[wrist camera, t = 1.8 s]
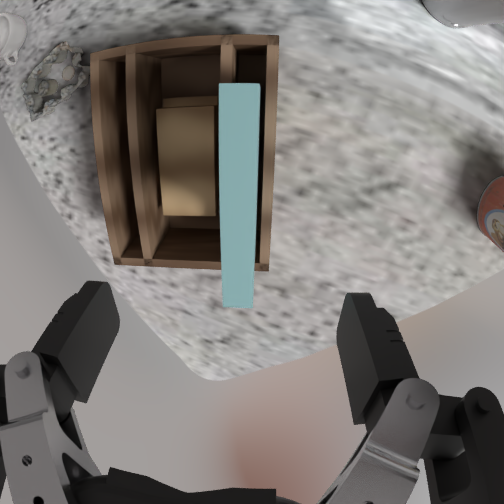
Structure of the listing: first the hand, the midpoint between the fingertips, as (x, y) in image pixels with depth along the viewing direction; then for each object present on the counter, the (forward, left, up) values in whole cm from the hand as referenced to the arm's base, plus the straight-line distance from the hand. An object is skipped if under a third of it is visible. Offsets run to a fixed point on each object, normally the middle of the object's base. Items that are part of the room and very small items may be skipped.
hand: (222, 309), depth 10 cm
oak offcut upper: (+1, -7, -26) cm, 27 cm away
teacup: (-20, -36, -30) cm, 51 cm away
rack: (0, -7, -30) cm, 30 cm away
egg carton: (-11, -26, -30) cm, 42 cm away
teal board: (0, 0, -28) cm, 28 cm away
